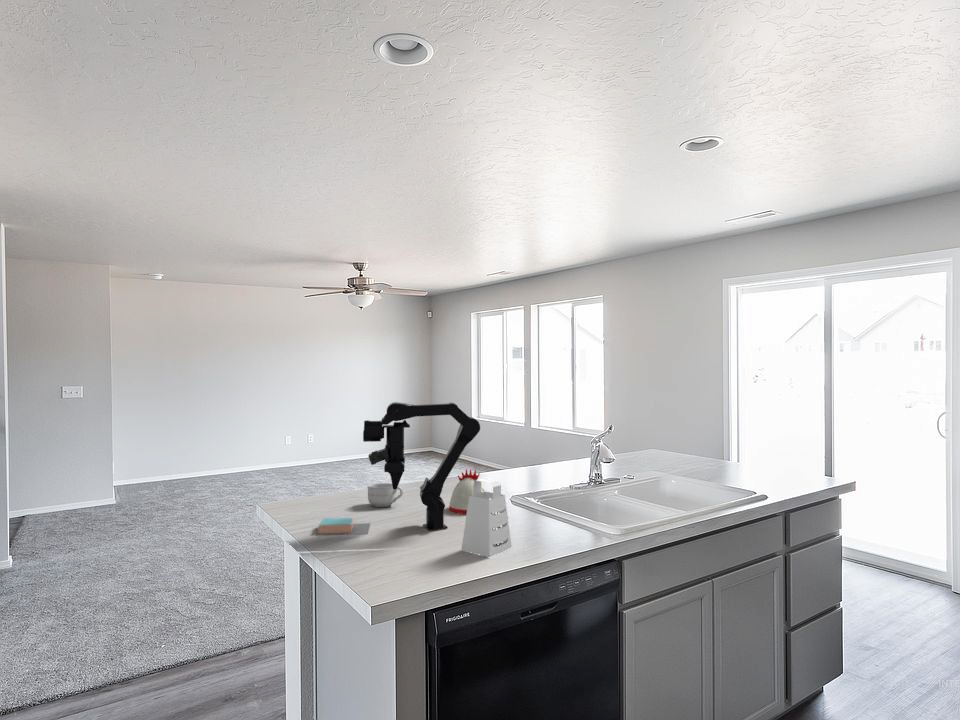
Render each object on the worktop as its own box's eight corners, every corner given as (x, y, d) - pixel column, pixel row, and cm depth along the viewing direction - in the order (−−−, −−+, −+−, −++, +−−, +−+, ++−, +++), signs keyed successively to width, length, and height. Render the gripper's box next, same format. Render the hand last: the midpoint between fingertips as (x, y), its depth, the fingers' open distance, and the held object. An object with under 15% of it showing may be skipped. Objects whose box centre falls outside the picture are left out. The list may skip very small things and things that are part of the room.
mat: (370, 524, 190) (370, 523, 190) (367, 535, 178) (367, 534, 178) (321, 526, 188) (321, 524, 188) (315, 537, 176) (315, 535, 176)
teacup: (361, 507, 213) (361, 485, 213) (379, 500, 223) (379, 480, 223) (391, 511, 207) (391, 489, 207) (408, 505, 216) (409, 484, 216)
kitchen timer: (486, 514, 204) (486, 472, 204) (448, 514, 204) (448, 472, 204) (486, 505, 218) (487, 465, 218) (450, 504, 218) (451, 465, 218)
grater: (484, 541, 173) (484, 475, 173) (511, 548, 166) (512, 480, 166) (461, 550, 165) (461, 481, 165) (489, 558, 158) (490, 486, 158)
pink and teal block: (353, 517, 187) (322, 518, 186) (351, 524, 179) (318, 525, 178) (353, 525, 187) (322, 526, 186) (351, 532, 179) (318, 533, 178)
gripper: (371, 437, 194) (371, 483, 193) (368, 445, 175) (367, 496, 175) (404, 437, 195) (404, 482, 195) (404, 445, 176) (404, 495, 176)
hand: (394, 489), depth 185 cm, fingers closed
